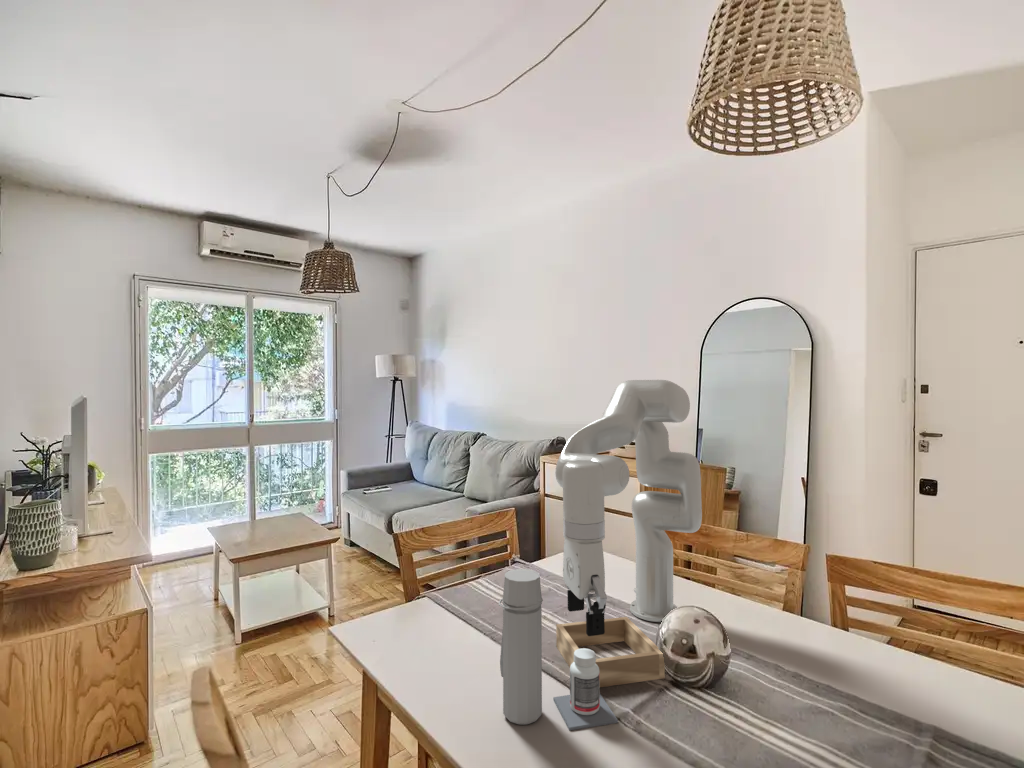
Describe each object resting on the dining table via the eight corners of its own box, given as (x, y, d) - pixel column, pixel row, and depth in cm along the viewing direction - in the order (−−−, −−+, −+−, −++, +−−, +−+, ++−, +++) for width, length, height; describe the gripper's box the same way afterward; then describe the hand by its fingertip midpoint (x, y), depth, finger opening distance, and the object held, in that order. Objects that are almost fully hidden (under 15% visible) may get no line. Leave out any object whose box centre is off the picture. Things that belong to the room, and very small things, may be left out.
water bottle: (552, 713, 93) (551, 574, 93) (521, 734, 87) (521, 586, 88) (516, 692, 99) (515, 562, 100) (485, 710, 94) (485, 573, 94)
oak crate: (556, 646, 117) (556, 624, 117) (626, 638, 121) (626, 616, 121) (583, 689, 100) (583, 663, 100) (664, 678, 104) (664, 653, 104)
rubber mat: (553, 699, 97) (553, 697, 97) (598, 693, 99) (598, 690, 99) (569, 730, 88) (569, 727, 88) (617, 722, 90) (617, 719, 90)
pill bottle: (605, 709, 93) (605, 655, 93) (583, 720, 90) (583, 664, 90) (585, 695, 98) (585, 643, 98) (563, 704, 95) (563, 651, 95)
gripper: (550, 518, 102) (551, 604, 102) (581, 545, 85) (582, 648, 85) (586, 515, 104) (587, 600, 104) (623, 541, 87) (624, 642, 87)
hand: (585, 621), depth 94 cm, fingers open, 9 cm apart
